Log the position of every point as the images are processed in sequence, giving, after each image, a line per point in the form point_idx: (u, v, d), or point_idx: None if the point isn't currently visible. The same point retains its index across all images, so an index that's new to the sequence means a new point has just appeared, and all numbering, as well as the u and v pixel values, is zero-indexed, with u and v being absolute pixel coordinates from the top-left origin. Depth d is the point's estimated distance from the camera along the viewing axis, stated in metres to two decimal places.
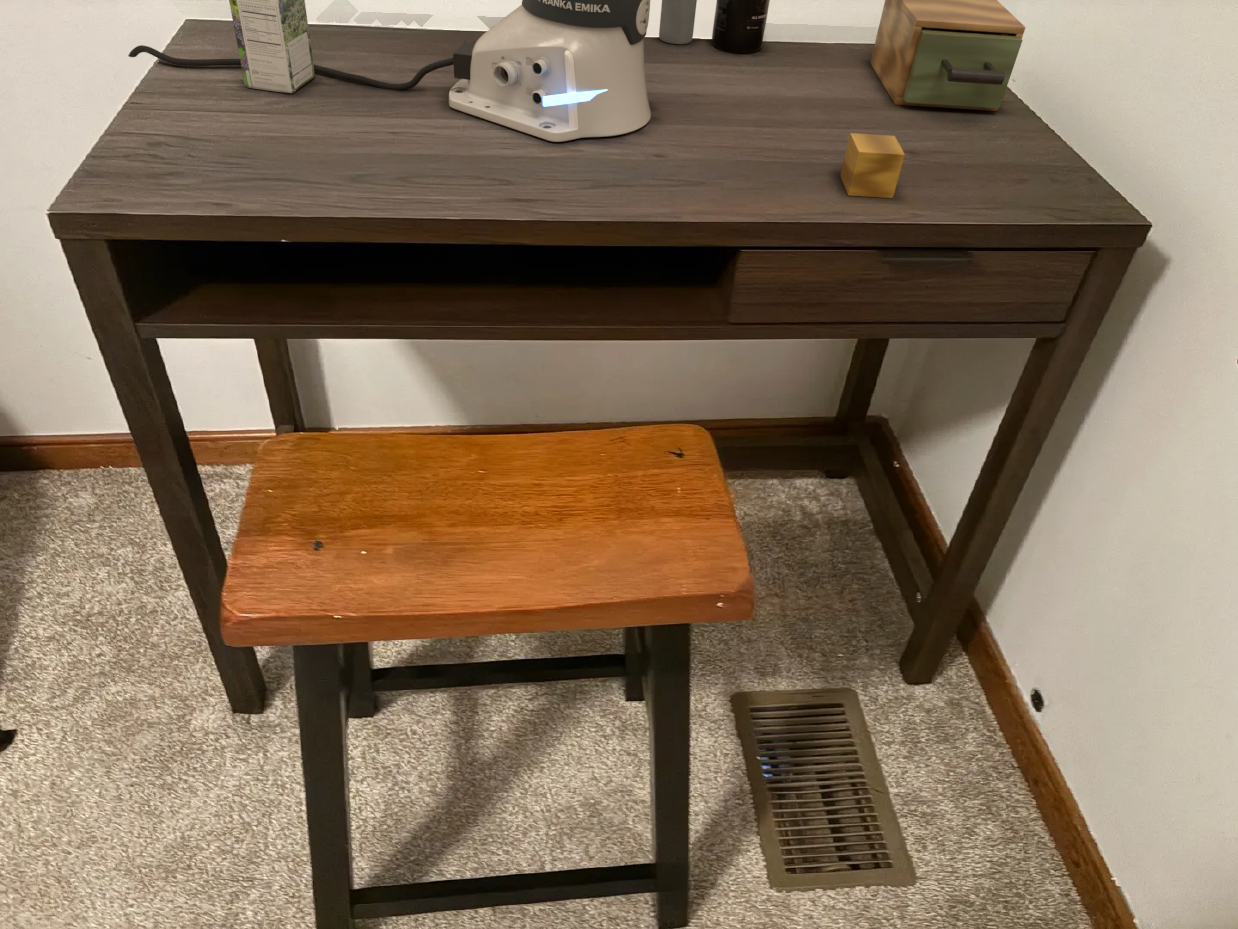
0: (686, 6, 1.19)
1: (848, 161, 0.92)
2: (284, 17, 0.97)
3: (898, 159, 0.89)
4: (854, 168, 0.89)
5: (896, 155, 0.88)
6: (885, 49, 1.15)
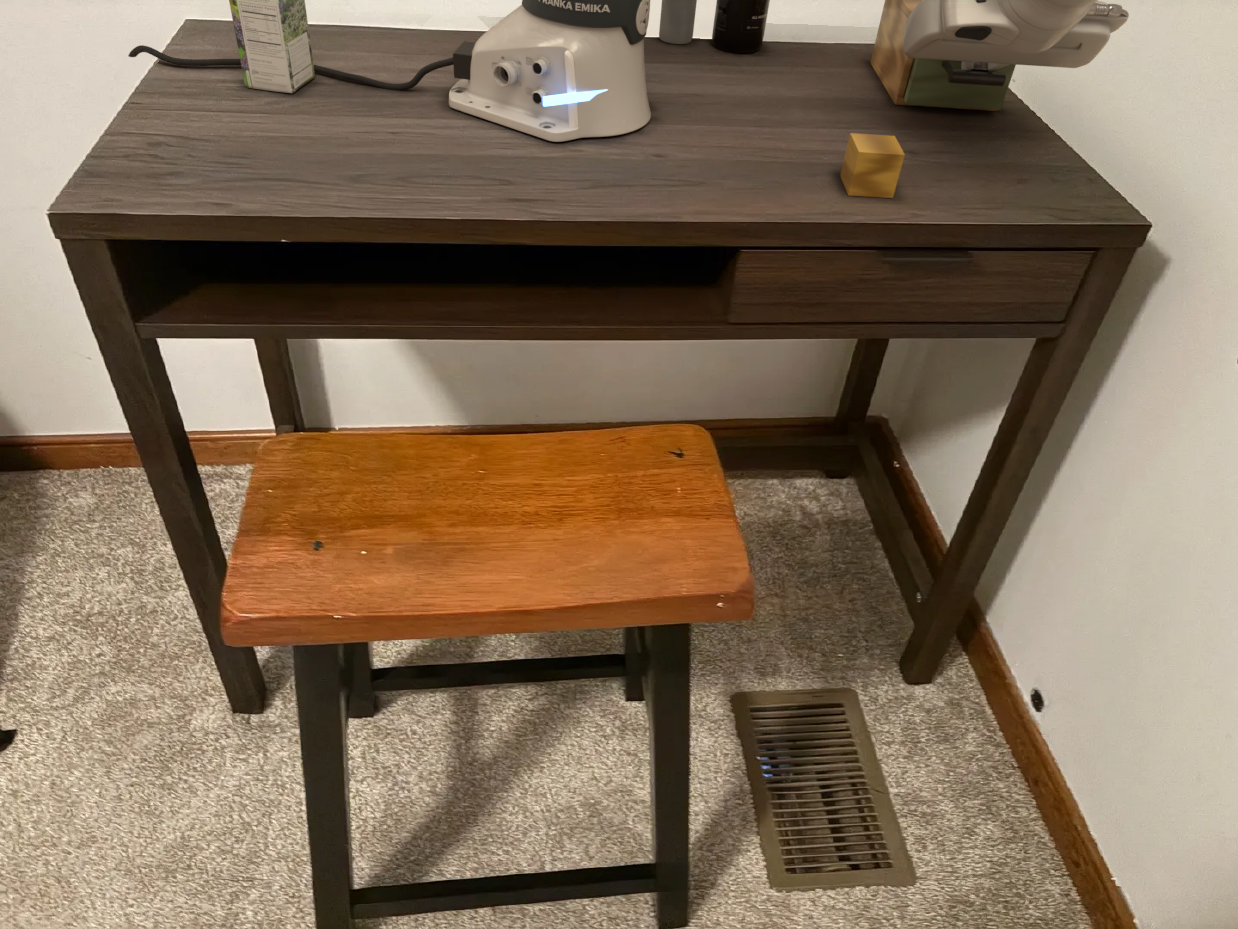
0: (686, 6, 1.19)
1: (848, 161, 0.92)
2: (284, 17, 0.97)
3: (898, 159, 0.89)
4: (854, 168, 0.89)
5: (896, 155, 0.88)
6: (885, 49, 1.15)
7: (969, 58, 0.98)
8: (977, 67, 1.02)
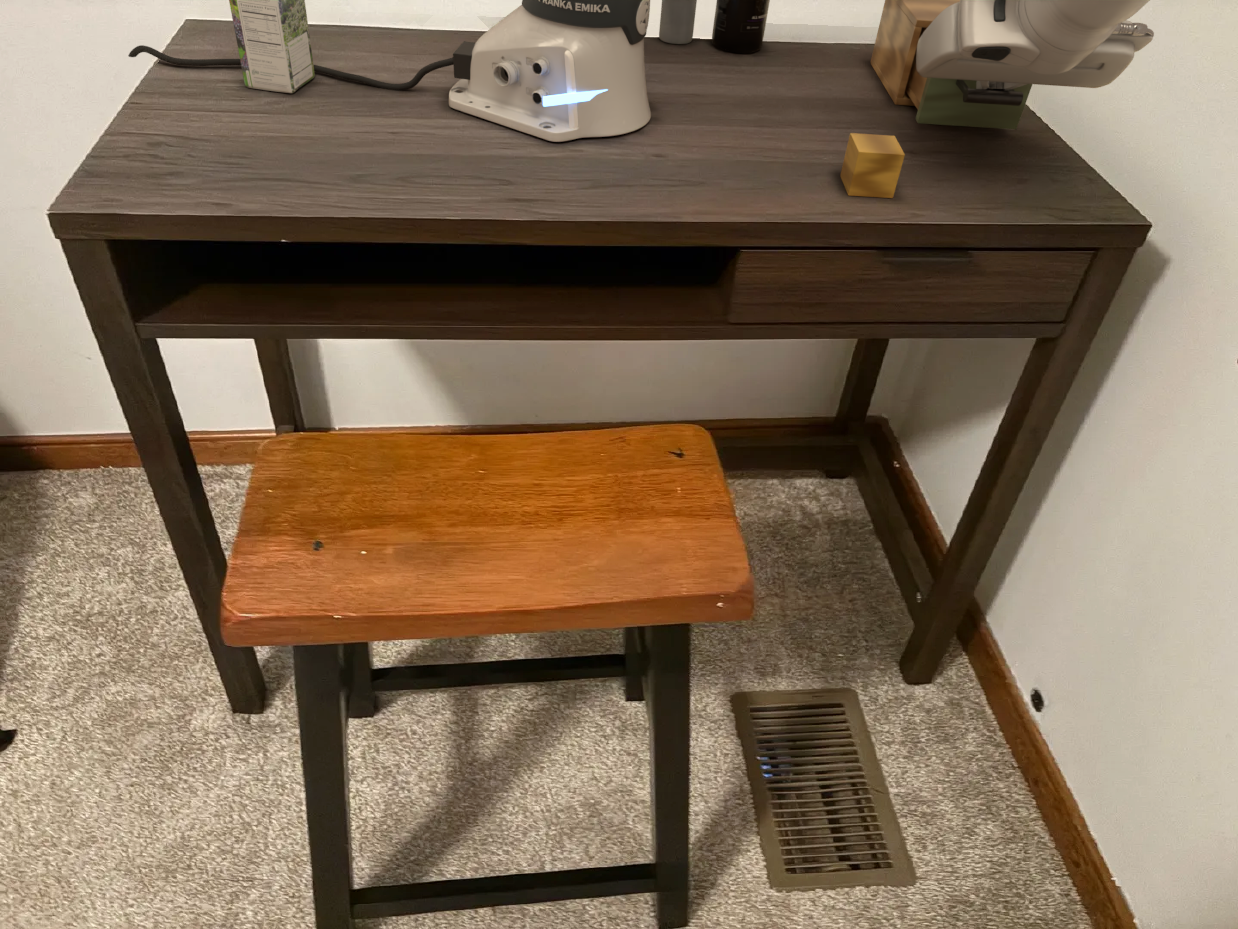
0: (686, 6, 1.19)
1: (848, 161, 0.92)
2: (284, 17, 0.97)
3: (898, 159, 0.89)
4: (854, 168, 0.89)
5: (896, 155, 0.88)
6: (885, 49, 1.15)
7: (985, 78, 0.94)
8: (993, 86, 0.98)
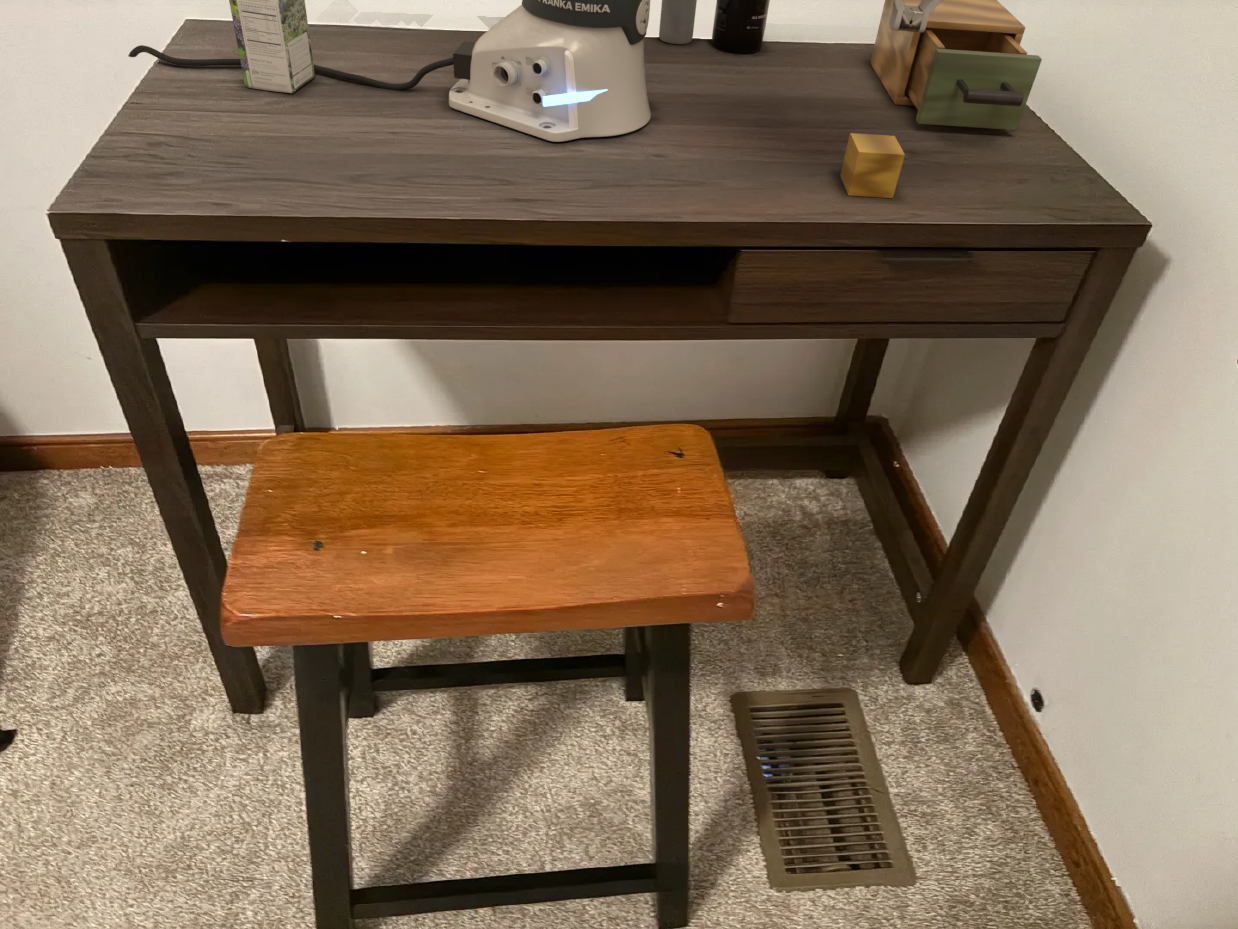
0: (686, 6, 1.19)
1: (848, 161, 0.92)
2: (284, 17, 0.97)
3: (898, 159, 0.89)
4: (854, 168, 0.89)
5: (896, 155, 0.88)
6: (885, 49, 1.15)
7: None
8: (909, 11, 0.81)
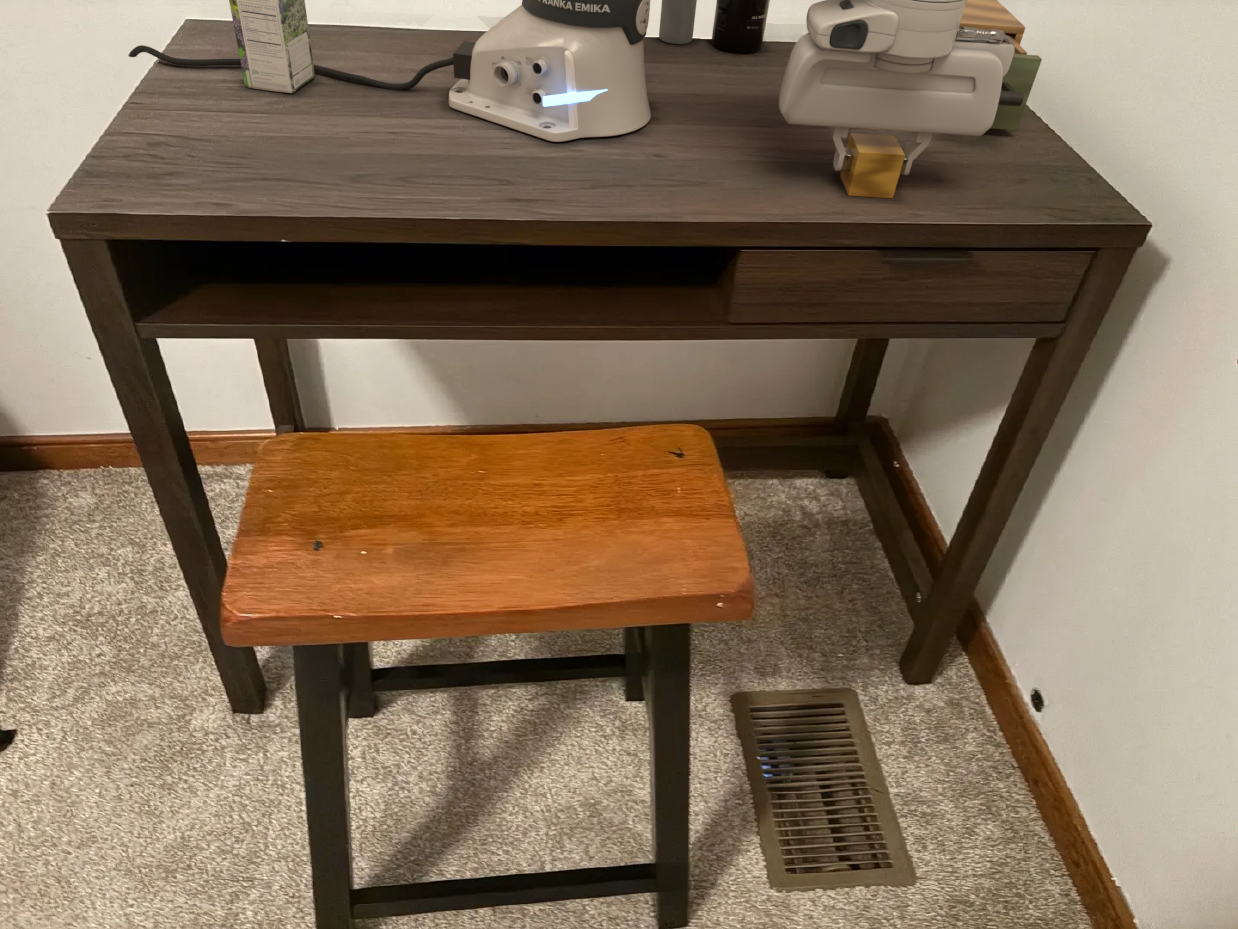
0: (686, 6, 1.19)
1: None
2: (284, 17, 0.97)
3: (898, 159, 0.89)
4: (854, 168, 0.89)
5: (896, 155, 0.88)
6: None
7: (858, 119, 0.87)
8: (850, 154, 0.90)
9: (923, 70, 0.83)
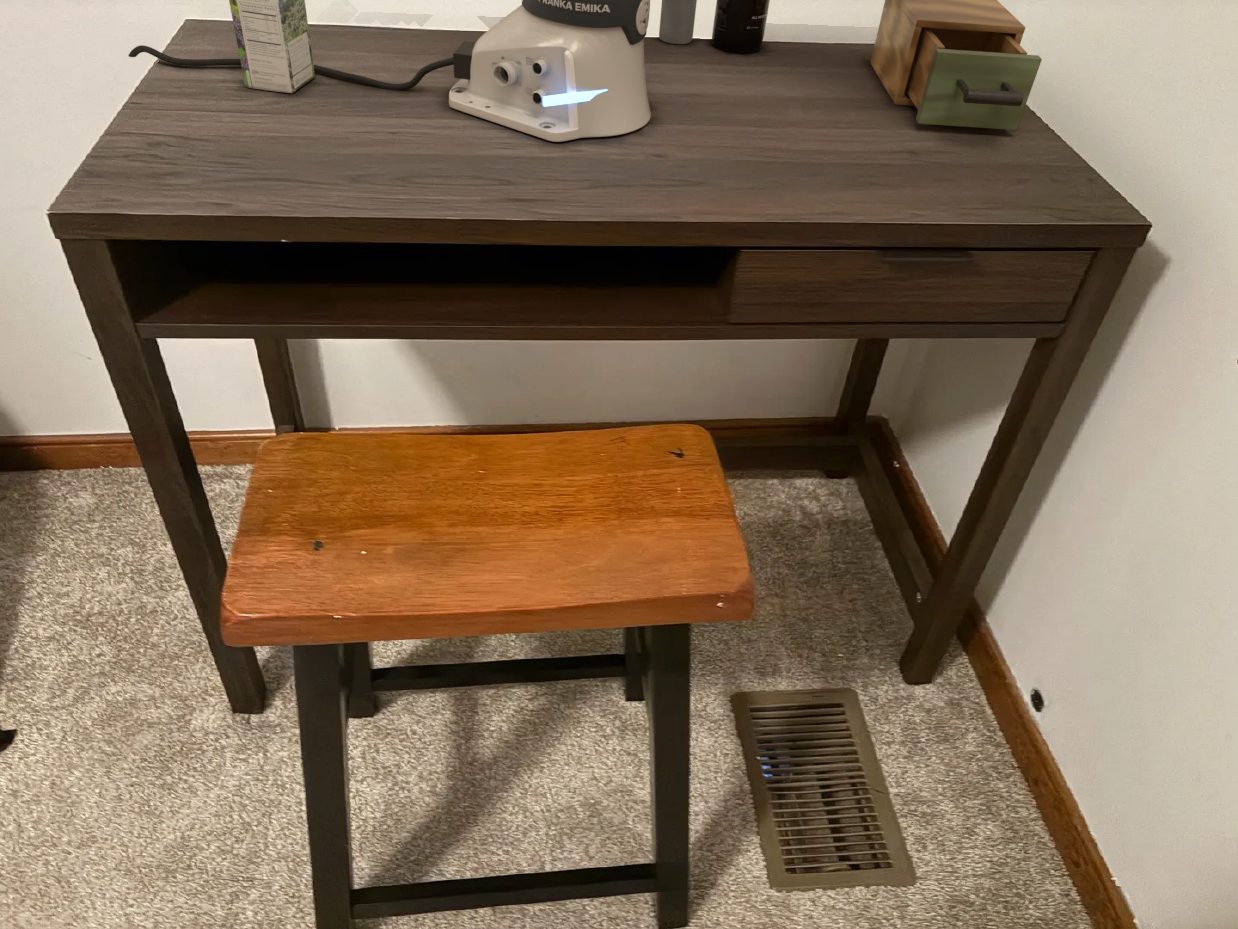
0: (686, 6, 1.19)
1: None
2: (284, 17, 0.97)
3: None
4: None
5: None
6: (885, 49, 1.15)
7: None
8: None
9: None
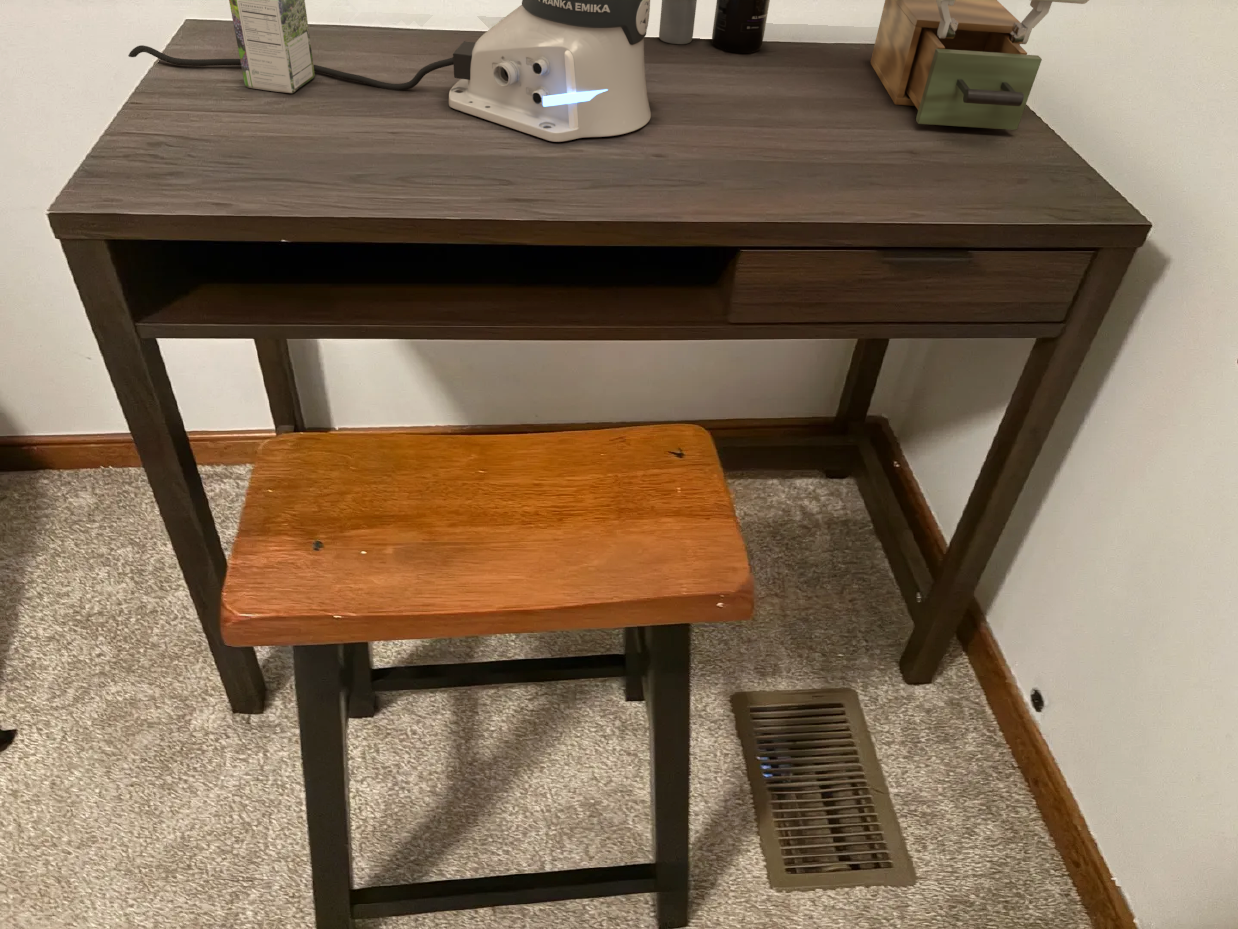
0: (686, 6, 1.19)
1: None
2: (284, 17, 0.97)
3: None
4: None
5: None
6: (885, 49, 1.15)
7: None
8: (955, 22, 1.00)
9: None
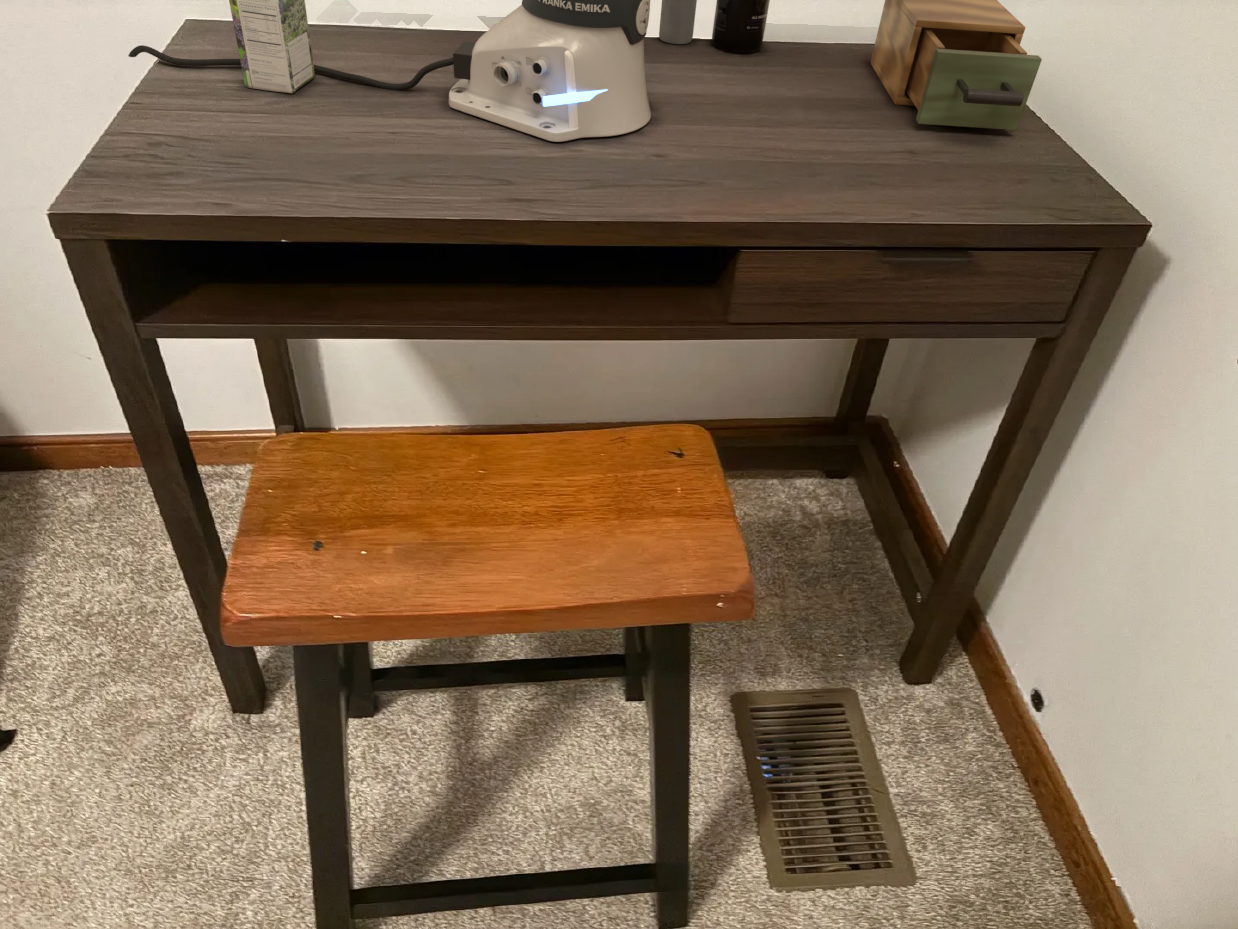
0: (686, 6, 1.19)
1: None
2: (284, 17, 0.97)
3: None
4: None
5: None
6: (885, 49, 1.15)
7: None
8: None
9: None
